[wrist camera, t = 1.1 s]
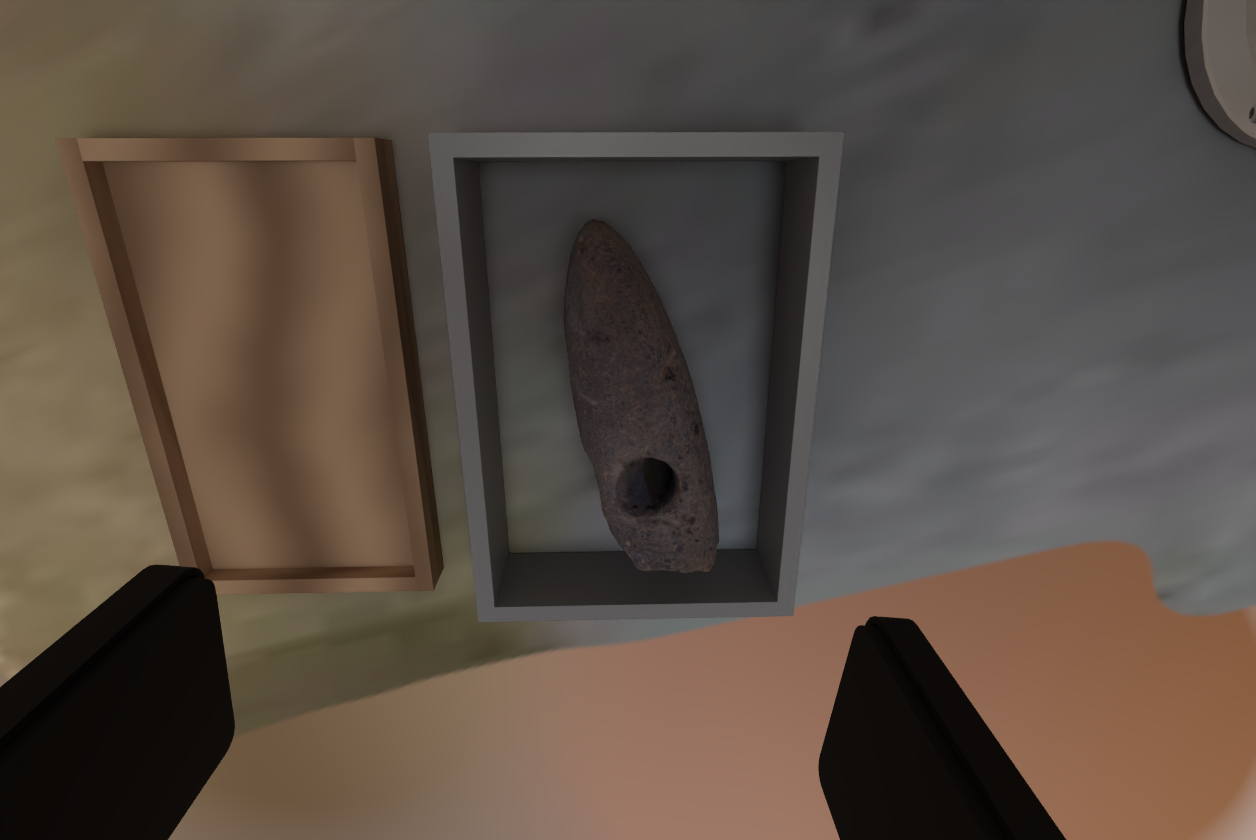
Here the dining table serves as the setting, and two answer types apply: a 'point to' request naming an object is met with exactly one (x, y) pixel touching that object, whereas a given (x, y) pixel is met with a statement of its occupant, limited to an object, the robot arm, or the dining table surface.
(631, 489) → the perforated stone tool
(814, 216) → the charcoal bin
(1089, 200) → the dining table surface
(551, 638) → the dining table surface
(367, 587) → the walnut tray
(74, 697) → the robot arm
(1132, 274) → the dining table surface
